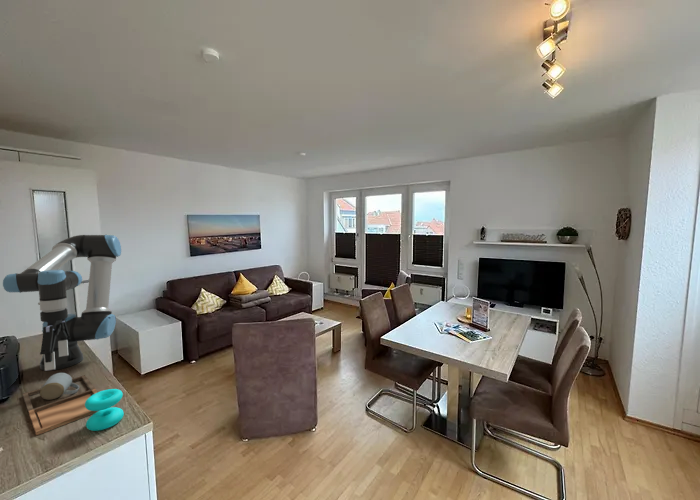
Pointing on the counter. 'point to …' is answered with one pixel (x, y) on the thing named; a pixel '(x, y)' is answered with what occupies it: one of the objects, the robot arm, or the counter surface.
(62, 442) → the counter surface
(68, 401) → the tray
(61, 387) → the ceramic mug
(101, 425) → the donuts
